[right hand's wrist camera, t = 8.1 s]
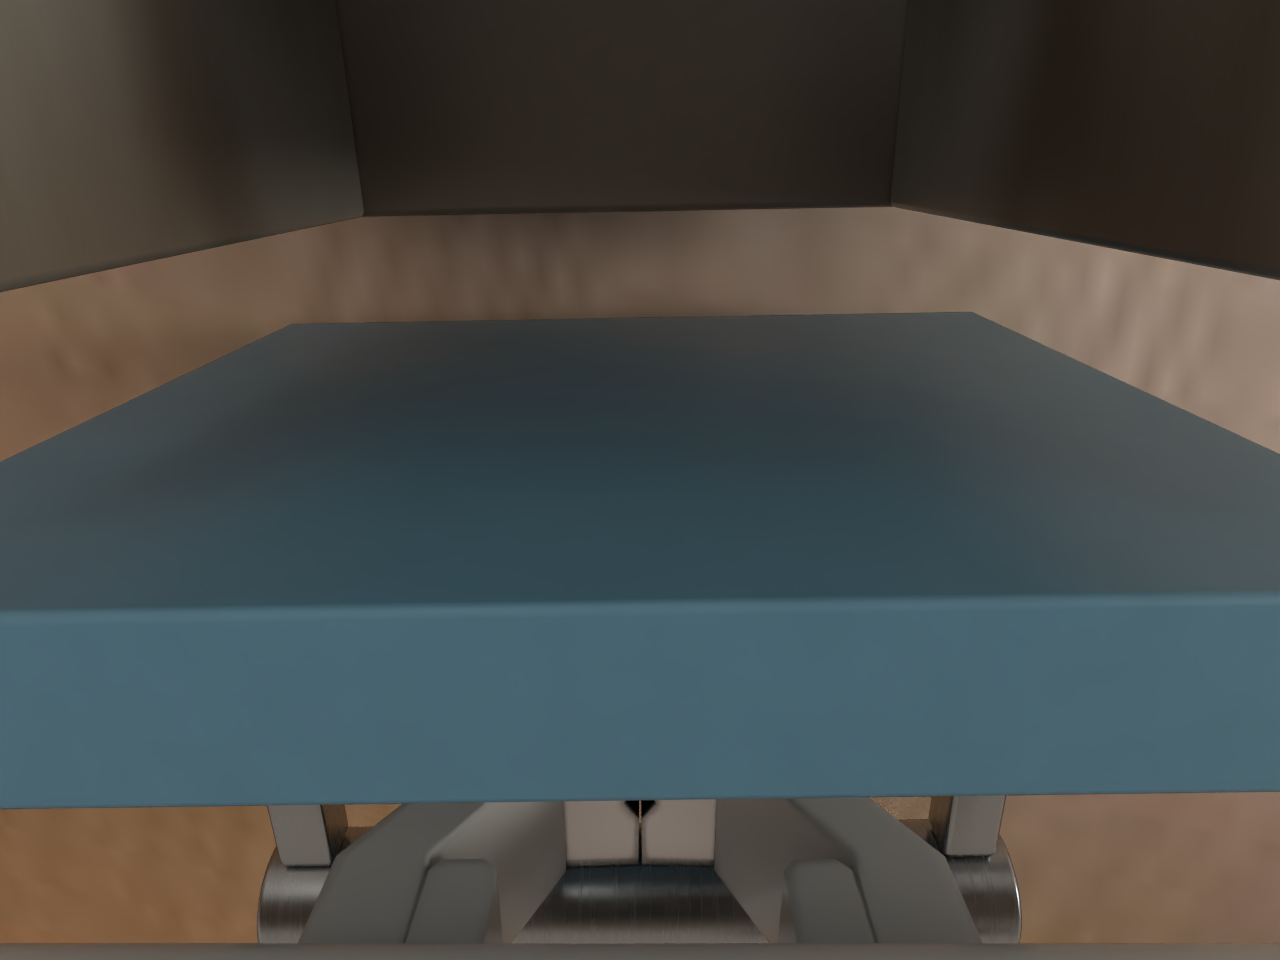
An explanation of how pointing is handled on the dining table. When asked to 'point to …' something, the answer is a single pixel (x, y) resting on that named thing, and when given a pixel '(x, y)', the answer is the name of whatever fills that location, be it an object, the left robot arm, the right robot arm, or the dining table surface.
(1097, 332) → the dining table surface
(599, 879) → the drawer
